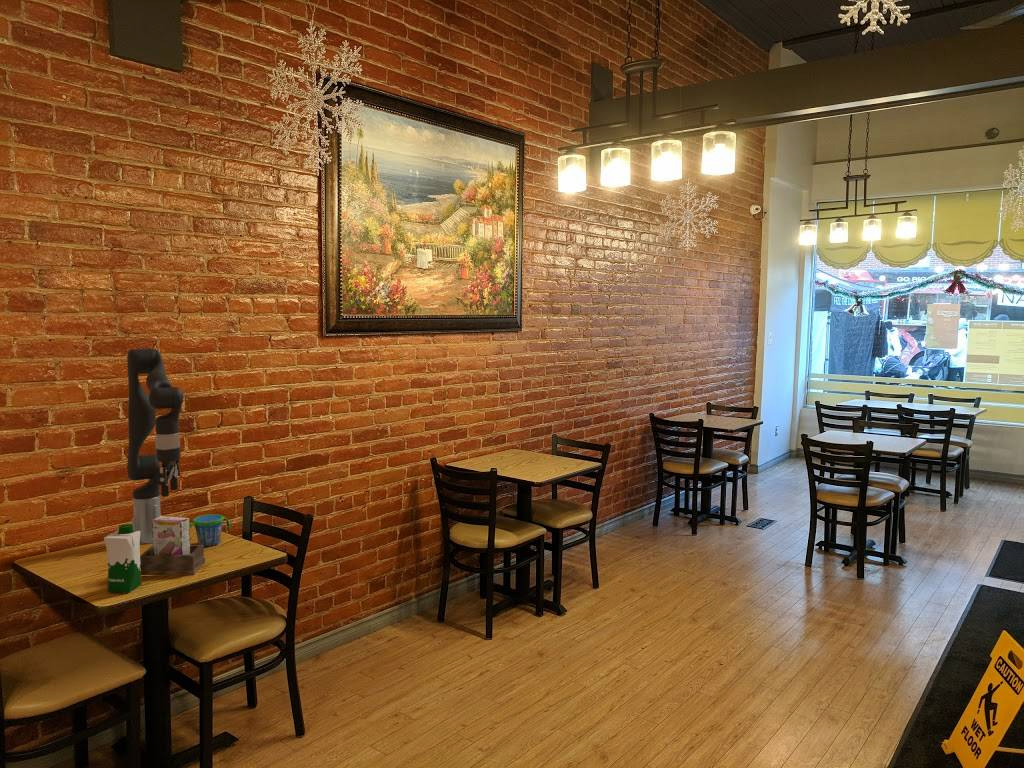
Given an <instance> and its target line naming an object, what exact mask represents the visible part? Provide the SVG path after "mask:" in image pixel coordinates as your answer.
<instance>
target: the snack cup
mask: <svg viewBox="0 0 1024 768" xmlns="http://www.w3.org/2000/svg"><path fill="white" fill-rule="evenodd" d="M224 520H226V531H227V532H228V533H229V532H230V530H231V523H230V521H229V519H228V518H227V517H225V516H223V515H222V514H213V513H211V514H209V513H208V514H203V515H198V516H196V517H195V518H193V520H192V522H189V530H190V531H191V529H192V527H193V526H194V529H195V531H196V532H195V533H196V538H197V543H198V545H204V547H205V546H206V547H211V546H210V545H213V546H216V545H219V543H220V542H221V536H222V527H223V523H224ZM191 539H192V538H191V537H190V541H191ZM215 544H216V545H215Z"/></svg>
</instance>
